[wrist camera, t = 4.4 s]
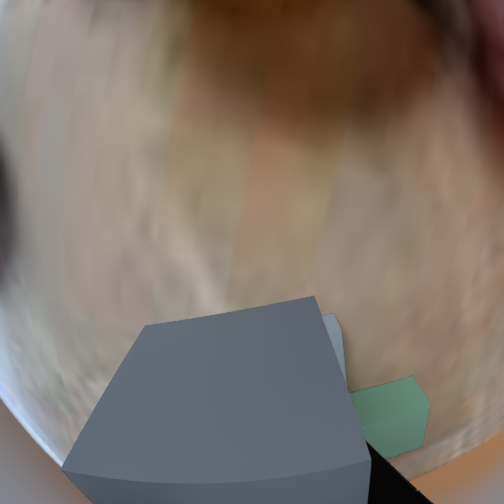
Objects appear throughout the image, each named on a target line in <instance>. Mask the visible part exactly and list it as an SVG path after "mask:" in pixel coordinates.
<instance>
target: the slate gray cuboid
mask: <svg viewBox="0 0 504 504" xmlns="http://www.w3.org/2000/svg"><path fill="white" fill-rule="evenodd" d="M61 471H62V472H63V473H64V474H65V475H66V476H67V477H68V478H69V479H70V480H71V482H72V483H73V484H74V485H75V486H76V487H77V488H78V489H79V490H80V491H81V492H82V493H83V494H84V495H85V496H86V497H87V498H88V499H89V500H90V501H91V502H92V503H93V504H367V502H368V493H369V483H370V471H371V457H370V453H369V450H368V447H367V444H366V441H365V438H364V435H363V432H362V429H361V426H360V423H359V420H358V417H357V414H356V411H355V408H354V405H353V402H352V399H351V396H350V393H349V390H348V387H347V385H346V382H345V379H344V376H343V373H342V370H341V367H340V365H339V362H338V359H337V356H336V353H335V351H334V348H333V345H332V342H331V340H330V337H329V334H328V332H327V329H326V326H325V323H324V321H323V318H322V315H321V313H320V310H319V307H318V305H317V302H316V300H315V297H314V296H310V297H306V298H301V299H296V300H291V301H286V302H281V303H276V304H271V305H266V306H260V307H255V308H250V309H244V310H239V311H233V312H228V313H222V314H216V315H210V316H204V317H198V318H192V319H186V320H180V321H173V322H166V323H160V324H153V325H146V326H145V327H144V328H143V330H142V331H141V333H140V334H139V336H138V338H137V339H136V341H135V342H134V344H133V346H132V347H131V349H130V350H129V352H128V354H127V355H126V357H125V359H124V360H123V362H122V363H121V365H120V367H119V368H118V370H117V372H116V373H115V375H114V377H113V378H112V380H111V382H110V383H109V385H108V387H107V388H106V390H105V392H104V393H103V395H102V397H101V398H100V400H99V402H98V404H97V405H96V407H95V409H94V410H93V412H92V414H91V416H90V417H89V419H88V421H87V423H86V424H85V426H84V428H83V430H82V431H81V433H80V435H79V437H78V439H77V440H76V442H75V444H74V446H73V448H72V449H71V451H70V453H69V455H68V457H67V458H66V460H65V462H64V464H63V466H62V468H61Z"/></svg>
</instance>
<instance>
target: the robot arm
mask: <svg viewBox="0 0 504 504" xmlns="http://www.w3.org/2000/svg"><path fill="white" fill-rule="evenodd" d="M365 441H366V440H365ZM366 444H367V447H368V450H369V453H370V457H371V471H370V483H369V493H368V502H367V504H433V503H432V502H431V501H430V500H428V499H427V498H426V497H425V496H424V495H423V494H422V493H421V492H420V491H418V490H417V489H416V488H415V487H414V486H413V485H412V484H411V483H410V482H409V481H408V480H407V479H406V478H405V477H403V476H402V475H401V474H400V473H399V472H398V471H397V470H396V469H395V468H394V467H393V466H392V465H391V464H390V463H389V462H388V461H387V460H386V459H385V458H384V457H383V456H382V455H381V454H380V453H379V452H378V451H376V450H375V449H374V448H373V447H372V446H371V445H370V444H369V443H368V442H367V441H366ZM416 490H417V491H416Z"/></svg>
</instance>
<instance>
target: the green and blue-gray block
mask: <svg viewBox="0 0 504 504" xmlns="http://www.w3.org/2000/svg"><path fill="white" fill-rule="evenodd" d="M322 318H323V321H324V323H325V326H326V329H327V332H328V334H329V337H330V340H331V342H332V345H333V348H334V351H335V353H336V356H337V359H338V362H339V365H340V367H341V370H342V373H343V376H344V379H345V382H346V385H347V381H346V370H345V359H344V349H343V340H342V331H341V329H340V326H339V324H338V321H337V319H336V317H335V314H334V313H333V314H329V315H324V316H322ZM350 396H351V399H352V402H353V405H354V408H355V411H356V414H357V417H358V420H359V423H360V426H361V429H362V432H363V435H364V438H365V440H366V441H367V442H368V443H369V444H370V445H371V446H372V447H373V448H374V449H375V450H376V451H378V452H379V453H380V454H381V455H382V456H383V457H384V458H385V459H387V458H390V457H393V456H396V455H400V454H403V453H406V452H409V451H412V450H415V449H418V448H420V447H422V445H423V441H424V436H425V431H426V426H427V421H428V415H429V410H430V403H429V402H428V400H427V398H426V397H425V395H424V393H423V391H422V390H421V388H420V386H419V385H418V383H417V381H416V380H415V378H414V376H410V377H407V378H404V379H400V380H397V381H394V382H390V383H387V384H383V385H380V386H376V387H372V388H369V389H365V390H361V391H357V392H353V393H350Z"/></svg>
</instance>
